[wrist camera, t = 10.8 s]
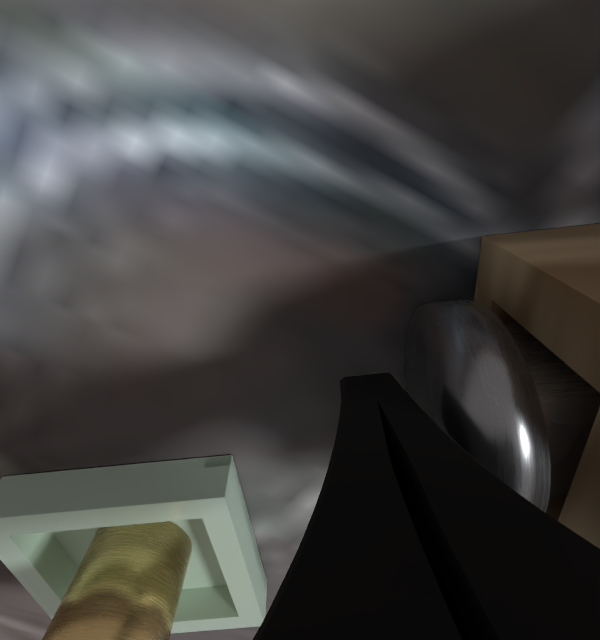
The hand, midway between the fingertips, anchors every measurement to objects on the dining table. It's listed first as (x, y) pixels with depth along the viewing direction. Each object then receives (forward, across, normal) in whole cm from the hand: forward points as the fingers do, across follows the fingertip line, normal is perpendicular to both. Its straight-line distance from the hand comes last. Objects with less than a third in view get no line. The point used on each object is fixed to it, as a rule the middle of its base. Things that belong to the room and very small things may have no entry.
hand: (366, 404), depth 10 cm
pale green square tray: (+2, +9, +8) cm, 13 cm away
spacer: (+2, +9, +8) cm, 12 cm away
